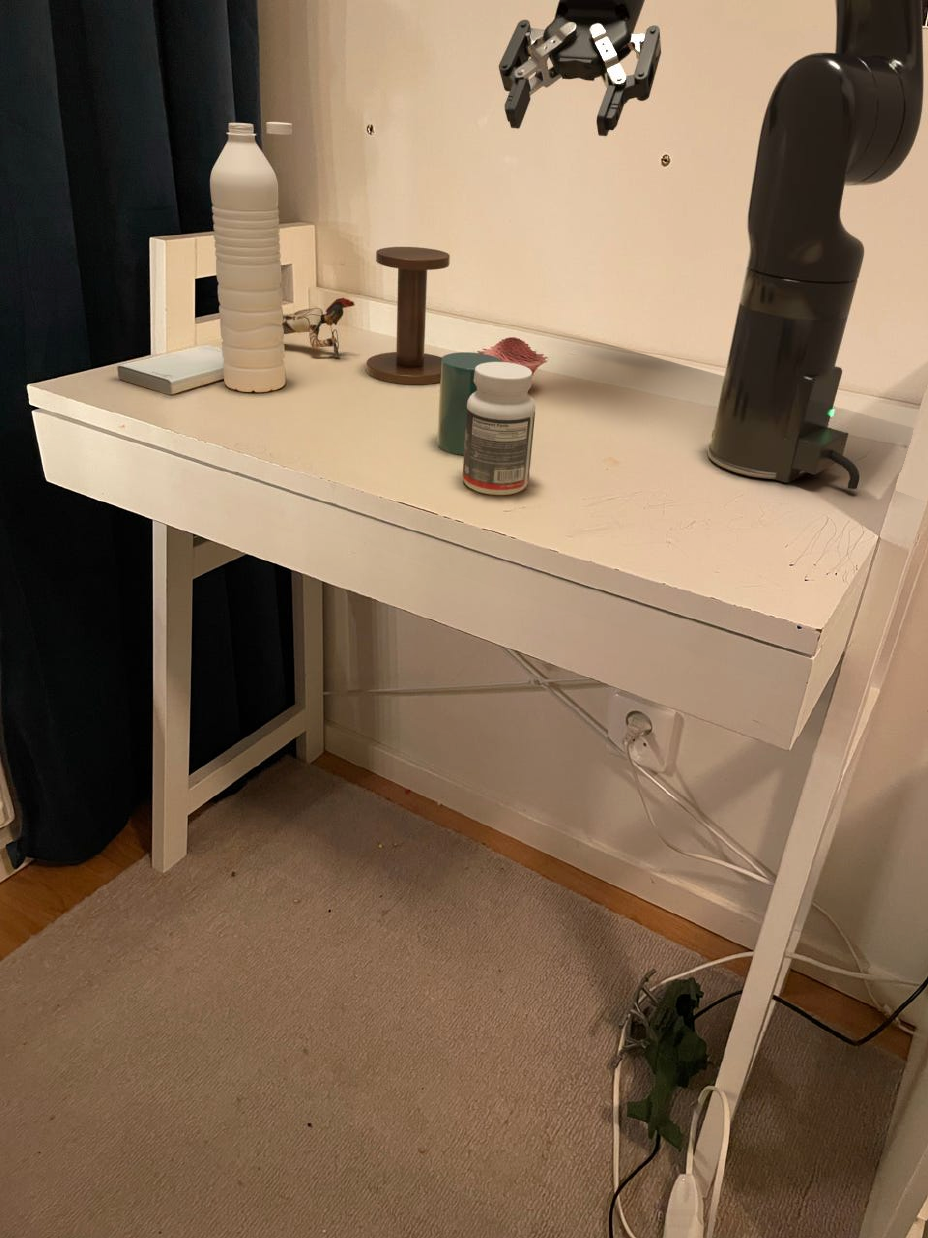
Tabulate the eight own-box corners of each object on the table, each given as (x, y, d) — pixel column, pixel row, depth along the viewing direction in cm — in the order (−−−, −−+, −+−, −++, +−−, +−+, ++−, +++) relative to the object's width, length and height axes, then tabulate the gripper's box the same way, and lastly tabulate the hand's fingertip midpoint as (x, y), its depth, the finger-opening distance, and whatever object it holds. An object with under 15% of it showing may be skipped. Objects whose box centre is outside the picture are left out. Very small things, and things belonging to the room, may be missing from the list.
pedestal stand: (470, 375, 108) (478, 256, 101) (407, 390, 102) (411, 265, 95) (411, 355, 114) (415, 242, 107) (348, 368, 107) (347, 249, 101)
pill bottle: (477, 466, 83) (484, 355, 78) (537, 479, 82) (548, 366, 76) (451, 488, 79) (458, 372, 74) (514, 502, 77) (525, 384, 72)
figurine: (251, 372, 115) (360, 356, 110) (233, 354, 112) (345, 336, 106) (258, 331, 117) (366, 313, 112) (241, 312, 113) (351, 293, 108)
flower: (558, 391, 105) (564, 341, 102) (509, 403, 100) (513, 351, 97) (508, 373, 109) (512, 325, 107) (459, 384, 104) (461, 334, 102)
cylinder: (508, 447, 88) (515, 362, 84) (467, 460, 85) (472, 372, 80) (466, 430, 91) (471, 348, 87) (424, 442, 88) (428, 357, 84)
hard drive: (171, 380, 94) (256, 356, 104) (116, 364, 98) (203, 342, 107) (172, 396, 95) (257, 370, 105) (118, 379, 99) (204, 356, 108)
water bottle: (245, 396, 96) (228, 124, 84) (212, 381, 100) (192, 118, 88) (314, 383, 102) (309, 125, 89) (281, 369, 106) (271, 120, 93)
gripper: (530, -55, 87) (474, 86, 83) (681, -53, 82) (628, 97, 79) (544, 16, 94) (493, 149, 90) (684, 22, 89) (635, 162, 86)
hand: (556, 125), depth 85 cm, fingers open, 8 cm apart
